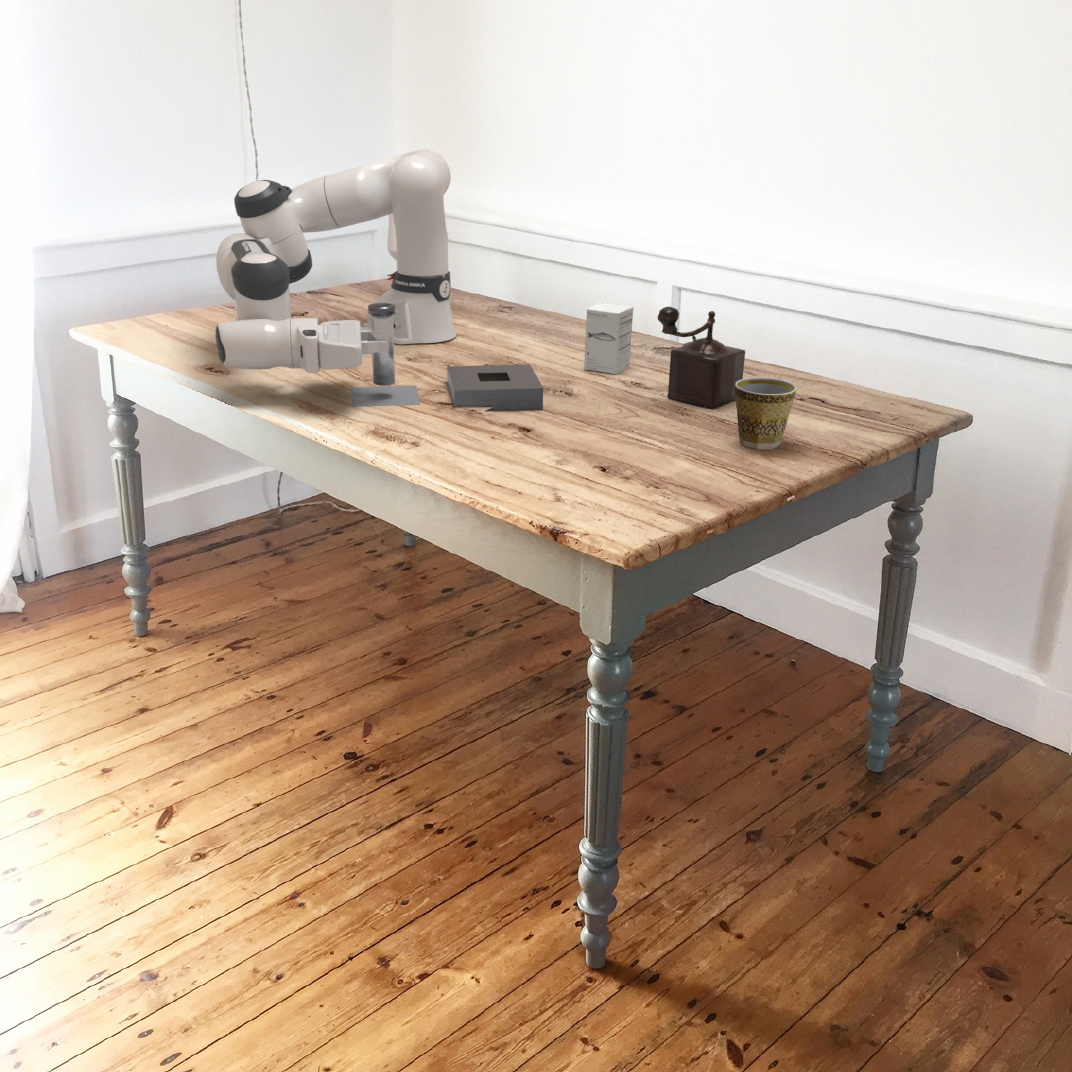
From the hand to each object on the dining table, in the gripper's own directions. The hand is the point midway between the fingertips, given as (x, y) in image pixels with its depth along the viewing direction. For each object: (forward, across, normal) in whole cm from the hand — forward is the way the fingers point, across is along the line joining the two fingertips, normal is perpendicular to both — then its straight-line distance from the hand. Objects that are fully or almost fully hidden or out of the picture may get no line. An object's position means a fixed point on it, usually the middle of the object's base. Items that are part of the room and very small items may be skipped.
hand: (387, 341), depth 206 cm
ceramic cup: (+61, +28, -11) cm, 68 cm away
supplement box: (+45, -18, -11) cm, 50 cm away
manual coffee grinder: (+57, +5, -11) cm, 58 cm away
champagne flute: (+6, -83, -11) cm, 84 cm away
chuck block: (+19, 0, -11) cm, 22 cm away
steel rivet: (-1, 0, -8) cm, 8 cm away
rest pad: (-1, 0, -11) cm, 11 cm away
